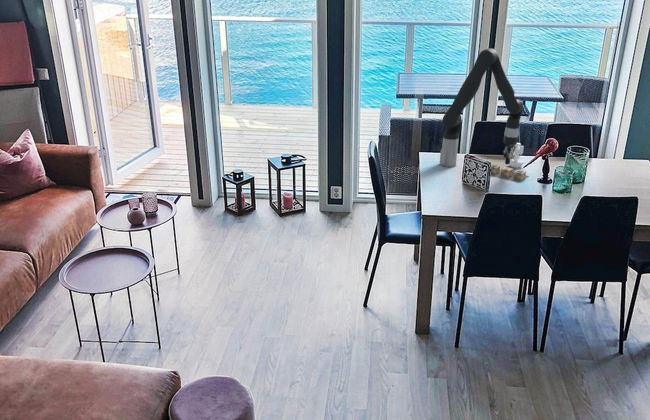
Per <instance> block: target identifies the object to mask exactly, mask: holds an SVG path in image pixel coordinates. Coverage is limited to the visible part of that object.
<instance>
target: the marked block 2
mask: <svg viewBox="0 0 650 420" xmlns="http://www.w3.org/2000/svg"><path fill="white" fill-rule="evenodd" d="M513 173H514V179H518V180H523V179H524V180H526V179H525V177H526V176H527V171H525V170H521V169H517V170H515V171H514V172H513ZM524 180H523V181H524Z"/></svg>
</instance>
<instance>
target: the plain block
mask: <svg viewBox="0 0 650 420" xmlns="http://www.w3.org/2000/svg"><path fill="white" fill-rule="evenodd" d="M500 170H501V176H505V177H510V176H511V175H512V173H514V172H513V171H514V167H508V166H504V167H502V168H500Z"/></svg>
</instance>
